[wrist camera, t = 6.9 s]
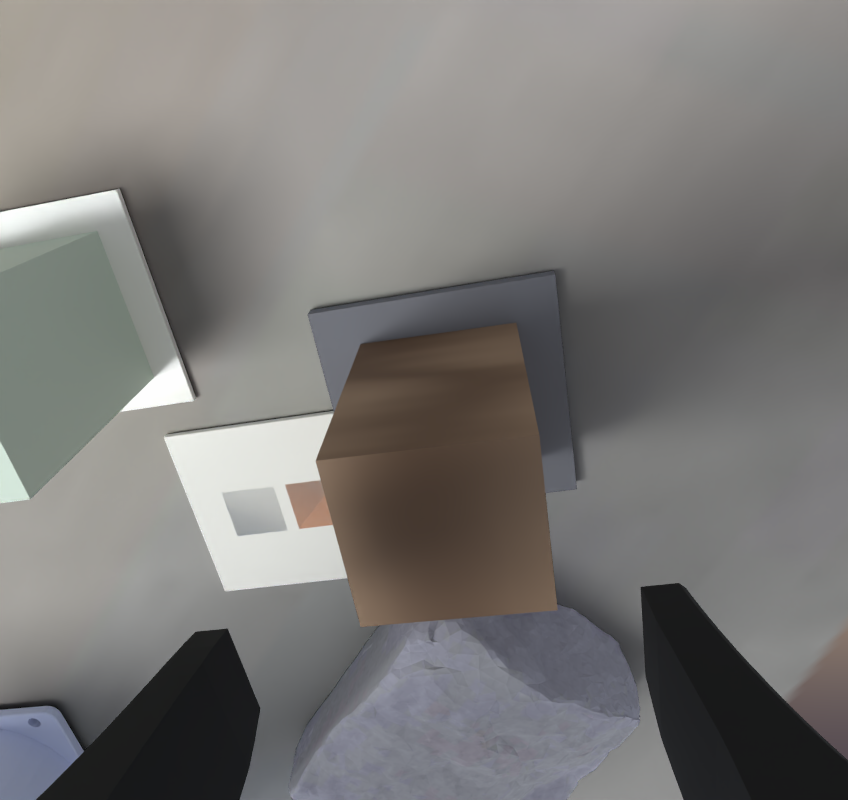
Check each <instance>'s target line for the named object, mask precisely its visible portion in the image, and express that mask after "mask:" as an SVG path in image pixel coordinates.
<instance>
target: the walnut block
mask: <svg viewBox="0 0 848 800" xmlns="http://www.w3.org/2000/svg"><path fill="white" fill-rule="evenodd" d="M316 465H317V468H318V472H319V476H320V479H321V483H322V487H323V490H324V494H325V498H326V501H327V505H328V509H329V512H330V516H331V520H332V523H333V527H334V531H335V534H336V538H337V542H338V545H339V549H340V553H341V556H342V560H343V564H344V567H345V571H346V575H347V578H348V582H349V586H350V589H351V593H352V597H353V600H354V604H355V608H356V611H357V615H358V618H359V622H360V626H361V627H366V626H378V625H390V624H402V623H414V622H425V621H437V620H449V619H461V618H473V617H484V616H496V615H508V614H520V613H531V612H543V611H555V610H558V609H557V599H556V590H555V580H554V571H553V561H552V551H551V542H550V532H549V523H548V513H547V503H546V494H545V484H544V475H543V465H542V455H541V446H540V436H539V431H538V426H537V421H536V416H535V411H534V406H533V401H532V397H531V392H530V387H529V382H528V377H527V372H526V367H525V363H524V358H523V353H522V348H521V343H520V338H519V333H518V329H517V324H516V323H510V324H503V325H495V326H488V327H481V328H474V329H466V330H459V331H452V332H444V333H437V334H430V335H423V336H415V337H408V338H401V339H393V340H386V341H379V342H372V343H364V344H360V347H359V349H358V352H357V354H356V357H355V360H354V362H353V365H352V367H351V370H350V373H349V375H348V378H347V380H346V383H345V385H344V388H343V391H342V393H341V396H340V398H339V401H338V404H337V406H336V409H335V411H334V414H333V417H332V419H331V422H330V424H329V427H328V430H327V432H326V435H325V437H324V440H323V443H322V445H321V448H320V450H319V453H318V456H317V458H316Z"/></svg>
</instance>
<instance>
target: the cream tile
mask: <svg viewBox="0 0 848 800" xmlns="http://www.w3.org/2000/svg"><path fill="white" fill-rule="evenodd" d="M333 414H334V411H329V412H322V413H315V414H308V415H301V416H293V417H286V418H279V419H272V420H265V421H258V422H251V423H244V424H237V425H230V426H223V427H216V428H209V429H202V430H194V431H187V432H180V433H173V434H166V435H165V437H164V439H165V442H166V444H167V447H168V449H169V452H170V454H171V457H172V459H173V462H174V464H175V467H176V469H177V472H178V474H179V477H180V479H181V482H182V484H183V487H184V489H185V492H186V494H187V497H188V499H189V502H190V504H191V507H192V509H193V512H194V514H195V517H196V520H197V522H198V525H199V527H200V530H201V532H202V535H203V537H204V540H205V542H206V545H207V547H208V550H209V552H210V555H211V557H212V560H213V562H214V565H215V567H216V570H217V572H218V575H219V577H220V580H221V582H222V585H223V587H224V590H225V591H233V590H242V589H252V588H261V587H270V586H279V585H289V584H298V583H307V582H317V581H326V580H335V579H344V578H347V575H346V571H345V567H344V564H343V560H342V556H341V553H340V549H339V545H338V542H337V538H336V534H335V531H334V527H333V523H332V520H331V516H330V512H329V509H328V505H327V501H326V498H325V494H324V490H323V487H322V483H321V479H320V476H319V472H318V468H317V465H316V458H317V456H318V453H319V450H320V448H321V445H322V443H323V440H324V437H325V435H326V432H327V430H328V427H329V424H330V422H331V419H332V417H333Z"/></svg>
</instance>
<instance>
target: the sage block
mask: <svg viewBox="0 0 848 800" xmlns="http://www.w3.org/2000/svg"><path fill="white" fill-rule="evenodd" d="M153 378H154V375H153V373H152V370H151V368H150V365H149V362H148V360H147V357H146V355H145V352H144V350H143V347H142V344H141V342H140V339H139V337H138V334H137V332H136V329H135V326H134V324H133V321H132V319H131V316H130V314H129V311H128V308H127V306H126V303H125V301H124V298H123V296H122V293H121V290H120V288H119V285H118V283H117V280H116V278H115V275H114V272H113V270H112V267H111V265H110V262H109V260H108V257H107V254H106V252H105V249H104V247H103V244H102V242H101V239H100V236H99V234H98V231H94V232H89V233H83V234H78V235H73V236H67V237H62V238H56V239H51V240H46V241H40V242H35V243H29V244H24V245H19V246H13V247H8V248H3V249H0V503H6V502H13V501H21V500H28V499H31V498H32V497H33V496H34V495H35V494H36V493H37V492H38V491H39V490H40V489H41V488H42V487H43V486H44V485H45V484H46V483H47V482H48V481H49V480H50V479H51V478H52V477H54V476H55V475H56V474H57V473H58V472H59V471H60V470H61V469H62V468H63V467H64V466H65V465H66V464H67V463H68V462H69V461H70V460H71V459H72V458H73V457H74V456H75V455H76V454H77V453H78V452H79V451H80V450H81V449H82V448H83V447H84V446H85V445H86V444H87V443H88V442H89V441H90V440H91V439H92V438H93V437H94V436H95V435H96V434H97V433H98V432H99V431H100V430H101V429H102V428H103V427H104V426H105V425H107V424H108V423H109V422H110V421H111V420H112V419H113V418H114V417H115V416H116V415H117V414H118V413H119V412H120V411H121V410H122V409H123V408H124V407H125V406H126V405H127V404H128V403H129V402H130V401H131V400H132V399H133V398H134V397H135V396H136V395H137V394H138V393H139V392H140V391H141V390H142V389H143V388H144V387H145V386H146V385H147V384H148V383H149V382H150V381H151V380H152V379H153Z"/></svg>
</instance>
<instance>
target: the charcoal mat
mask: <svg viewBox="0 0 848 800" xmlns="http://www.w3.org/2000/svg"><path fill="white" fill-rule="evenodd" d="M308 317H309V321H310V325H311V329H312V332H313V336H314V340H315V343H316V347H317V351H318V355H319V358H320V362H321V366H322V369H323V373H324V377H325V381H326V384H327V388H328V392H329V395H330V399H331V403H332V407H333V410H334V411H335V409H336V406H337V404H338V401H339V398H340V396H341V393H342V391H343V388H344V385H345V383H346V380H347V378H348V375H349V373H350V370H351V367H352V365H353V362H354V360H355V357H356V354H357V352H358V349H359V347H360V344H364V343H372V342H379V341H386V340H393V339H401V338H408V337H415V336H423V335H430V334H437V333H444V332H452V331H459V330H466V329H474V328H481V327H488V326H495V325H503V324H510V323H516V324H517V329H518V333H519V338H520V343H521V348H522V353H523V358H524V363H525V367H526V372H527V377H528V382H529V387H530V392H531V397H532V401H533V406H534V411H535V416H536V421H537V426H538V431H539V436H540V446H541V455H542V465H543V475H544V484H545V493H549V492H557V491H565V490H574V489H577V485H576V475H575V465H574V455H573V445H572V435H571V425H570V415H569V405H568V395H567V385H566V375H565V365H564V356H563V346H562V336H561V326H560V316H559V306H558V296H557V286H556V276H555V273H554V271H548V272H542V273H536V274H530V275H523V276H517V277H511V278H505V279H499V280H493V281H486V282H480V283H474V284H468V285H462V286H456V287H449V288H443V289H437V290H431V291H425V292H419V293H412V294H406V295H400V296H394V297H388V298H382V299H375V300H369V301H363V302H357V303H351V304H345V305H338V306H332V307H326V308H320V309H314V310H310V312H309V313H308Z"/></svg>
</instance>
